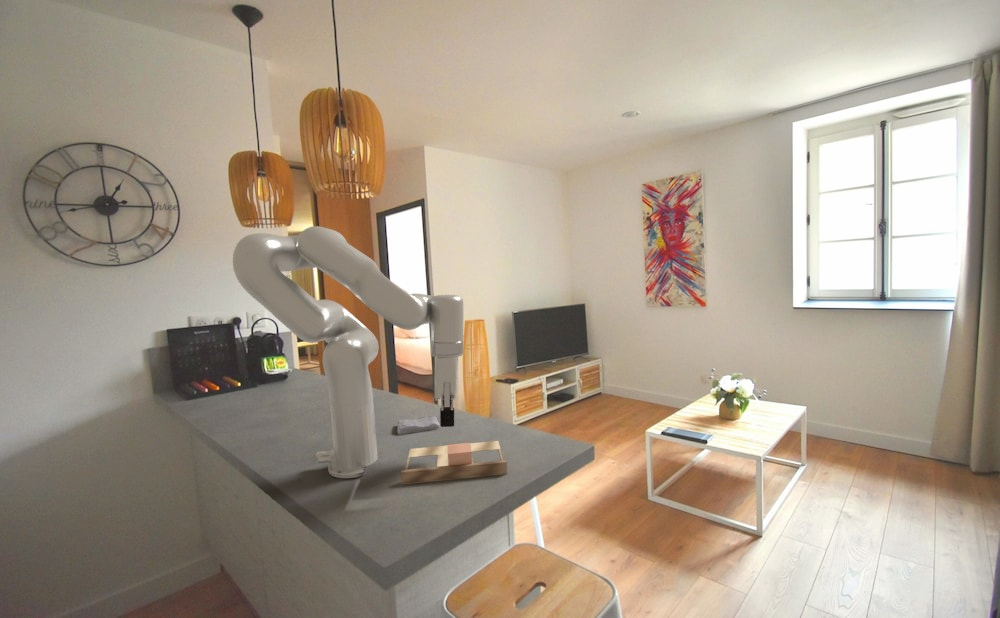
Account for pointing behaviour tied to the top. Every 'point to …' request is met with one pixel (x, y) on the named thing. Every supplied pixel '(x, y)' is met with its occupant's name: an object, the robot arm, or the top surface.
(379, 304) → the robot arm
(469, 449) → the terracotta block
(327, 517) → the top surface
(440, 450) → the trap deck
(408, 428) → the stone block
